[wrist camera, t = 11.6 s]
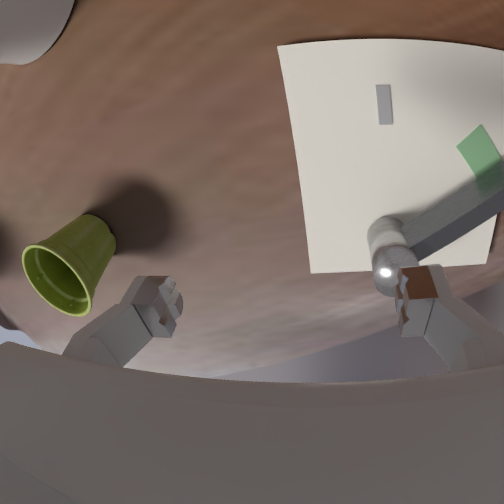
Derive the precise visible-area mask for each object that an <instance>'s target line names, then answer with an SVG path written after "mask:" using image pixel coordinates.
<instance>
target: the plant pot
mask: <svg viewBox="0 0 504 504" xmlns="http://www.w3.org/2000/svg"><path fill="white" fill-rule="evenodd" d="M115 250H116V240H115V237H114V235H113V234H112V233H111V232H110V230H109V228H108V225H107V224H106V223H105V222H104V221H103V220H101V219H100V218H98V217H96V216H94V215H90V214H86V215H83V216H80V217H78V218H77V219H75V220H74V221H72V222H71V223H69V224H68V225H66V226H65V227H63V228H62V229H61V230H59V231H58V232H56V233H55V234H53V235H52V236H51V237H49V238H48V239H46V240H43V241H40V242H39V243H37V244H31V245H29V246H28V247H26V248H25V250H24V251H23V254H22V263H23V268H24V271H25V273H26V276H27V278H28V280H29V281H30V283H31V284H32V286H33V287H34V289H35V290H36V291H37V292H38V294H39V295H40V296H41V297H42V298H43V299H44V300H45V301H47V302H48V303H49V304H50V305H52V306H53V307H55V308H56V309H58V310H59V311H61V312H63V313H65V314H68V315H71V316H84V315H86V314H88V313H89V311H90V310H91V307H92V298H93V296H94V293H95V288H96V286H97V284H98V282H99V280H100V278H101V276H102V274H103V272H104V270H105V268H106V267H107V265H108V263H109V261H110V259H111V258H112V256H113V254H114V252H115Z"/></svg>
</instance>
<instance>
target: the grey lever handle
mask: <svg viewBox="0 0 504 504" xmlns="http://www.w3.org/2000/svg"><path fill="white" fill-rule="evenodd" d="M502 210H504V161H503V162H501V163H500V164H498V165H497V166H495V167H494V168H492V169H491V170H489V171H488V172H486V173H485V174H483V175H482V176H480V177H479V178H477V179H476V180H474V181H473V182H471V183H470V184H468V185H467V186H465V187H464V188H462V189H460V190H459V191H457V192H456V193H454V194H453V195H451V196H450V197H448V198H446V199H445V200H443V201H442V202H440V203H439V204H437V205H435V206H434V207H432V208H431V209H429V210H427V211H426V212H424V213H423V214H421V215H419V216H418V217H416V218H414V219H413V220H411V221H410V222H408V223H406V224H405V225H404V224H403V222H402V221H400V220H399V219H397V218H394V217H383V218H380V219H378V220H376V221H375V222H374V223H372V225H371V226H370V227H369V229H368V232H367V242H368V247H369V252H370V258H371V264H372V270H373V276H374V282H375V286H376V288H377V290H378V291H379V292H380V293H382V294H383V295H385V296H389V297H395V289H396V285H397V284H398V283H399V282H398V278H397V274H398V269H399V267H406V266H420V265H419V261H421V260H423V259H425V258H426V257H428V256H430V255H432V254H433V253H435V252H437V251H438V250H440V249H442V248H444V247H445V246H447V245H449V244H450V243H452V242H454V241H455V240H457V239H458V238H460V237H462V236H463V235H465V234H467V233H468V232H470V231H471V230H473V229H475V228H476V227H478V226H479V225H481V224H482V223H484V222H486V221H487V220H489V219H490V218H492V217H493V216H495V215H496V214H498V213H499V212H501V211H502Z"/></svg>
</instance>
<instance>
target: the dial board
mask: <svg viewBox="0 0 504 504" xmlns="http://www.w3.org/2000/svg"><path fill="white" fill-rule="evenodd" d="M277 48H278V53H279V58H280V63H281V68H282V74H283V79H284V85H285V90H286V96H287V102H288V107H289V113H290V119H291V125H292V132H293V138H294V144H295V151H296V158H297V164H298V171H299V178H300V186H301V193H302V201H303V208H304V216H305V225H306V233H307V242H308V251H309V260H310V269H311V273H331V272H353V271H373V270H372V264H371V258H370V252H369V247H368V242H367V232H368V229H369V227H370V226H371V225H372V223H374V222H375V221H376V220H378V219H380V218H383V217H394V218H397V219H399V220H400V221H402V222H403V224H404V225H405V224H406V223H408V222H410V221H411V220H413V219H414V218H416V217H418V216H419V215H421V214H423V213H424V212H426V211H427V210H429V209H431V208H432V207H434V206H435V205H437V204H439V203H440V202H442V201H443V200H445V199H446V198H448V197H450V196H451V195H453V194H454V193H456V192H457V191H459V190H460V189H462V188H464V187H465V186H467V185H468V184H470V183H471V182H473V181H474V180H476V179H477V178H479V177H480V176H482V175H483V174H485V173H486V172H488V171H489V170H491V169H492V168H494V167H495V166H497V165H498V164H500V163H501V162H503V161H504V51H501V50H496V49H491V48H485V47H479V46H473V45H465V44H458V43H449V42H439V41H426V40H409V39H351V40H333V41H320V42H309V43H299V44H291V45H283V46H277ZM496 217H497V214H496V215H495V216H493V217H492V218H490V219H489V220H487V221H486V222H484V223H482V224H481V225H479V226H478V227H476V228H475V229H473V230H471V231H470V232H468V233H467V234H465V235H463V236H462V237H460V238H458V239H457V240H455V241H454V242H452V243H450V244H449V245H447V246H445V247H444V248H442V249H440V250H438V251H437V252H435V253H433V254H432V255H430V256H428V257H426V258H425V259H423V260H421V261H419V265H420V266H421V265H430V264H440V265H441V266H442V267H445V266H460V265H475V264H486V260H487V257H488V253H489V249H490V245H491V240H492V236H493V231H494V227H495V222H496Z"/></svg>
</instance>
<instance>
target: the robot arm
mask: <svg viewBox="0 0 504 504" xmlns="http://www.w3.org/2000/svg"><path fill="white" fill-rule="evenodd" d="M73 3H74V0H0V63H9V64H17V65H23V64H27V63H30V62H32V61H34V60H36V59H38V58H39V57H40V56H42V55H43V54H44V53H45V52H46V51H47V50H48V49H49V48H50V47H51V46H52V45H53V43H54V42H55V41H56V39H57V38H58V36H59V35H60V33H61V31H62V30H63V28H64V26H65V24H66V22H67V20H68V17H69V15H70V12H71V10H72V7H73ZM397 278H398V282H399V283H398V284H397V285H396V289H395V307H396V312H397V313H398V314H399V315H400V316H399V321H398V323H399V329H400V334H401V337H413V336H414V337H415V336H424V338H425V339H426V340H427V341H428V343H429V344H430V345H431V346H432V347H433V348H434V350H435V351H436V352H437V353H438V354H439V356H440V357H441V358H442V359H443V360H444V362H445V363H446V364H447V365H448V366H449V367H450V371H449V372H448V374H440V375H432V376H424V377H414V378H404V379H392V380H378V381H361V382H336V383H275V382H252V381H251V382H250V381H235V380H221V379H220V380H219V379H209V378H198V377H188V376H179V375H171V374H163V373H155V372H148V371H141V370H135V369H129V368H123V366H124V365H125V364H127V363H128V362H129V361H130V360H131V359H132V358H133V357H134V356H135V355H136V354H137V353H138V352H139V351H140V350H141V349H142V348H143V347H144V346H145V345H146V344H147V343H148V342H149V341H150V340H151V339H152V337H162V338H171V337H172V335H173V332H174V330H175V327H176V325H177V324H176V322H175V320H176V319H177V318H178V317H180V315H181V313H182V310H183V299H182V296H181V293H180V292H179V291H178V290H176V289H175V286H176V282H175V280H174V278H173V277H171V276H137V277H136V278H135V279H134V280H133V282H132V284H131V285H130V287H129V288H128V290H127V292H126V293H125V295H124V297H123V298H122V300H121V302H120V303H119V304H116V305H114V306H113V307H111V308H110V309H108V310H107V311H106V312H104V313H103V314H101V315H100V316H99V317H97V318H96V319H94V320H93V321H92V322H90V323H89V324H87V325H86V326H85V327H83V328H82V329H80V330H79V331H78V332H76V333H75V334H74V335H73V337H72V338H71V340H70V342H69V343H68V345H67V347H66V349H65V350H64V352H63V354H62V355H59V354H54V353H50V352H46V351H42V350H38V349H35V348H31V347H27V346H23V345H20V344H17V343H14V342H5V343H3V344H1V345H0V504H504V335H503V333H501V332H500V331H499V330H498V329H497V328H496V327H494V326H493V325H492V324H491V323H490V322H488V321H487V320H486V319H485V318H484V317H482V316H481V315H480V314H479V313H477V312H476V311H475V310H474V309H473V308H471V307H470V306H469V305H468V304H466V303H465V302H464V301H462V300H461V299H460V298H459V297H457V296H456V297H454V296H453V294H452V291H451V288H450V286H449V283H448V281H447V278H446V276H445V273H444V271H443V268H442V266H441V265H440V264H430V265H421V266H406V267H399V269H398V274H397Z"/></svg>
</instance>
